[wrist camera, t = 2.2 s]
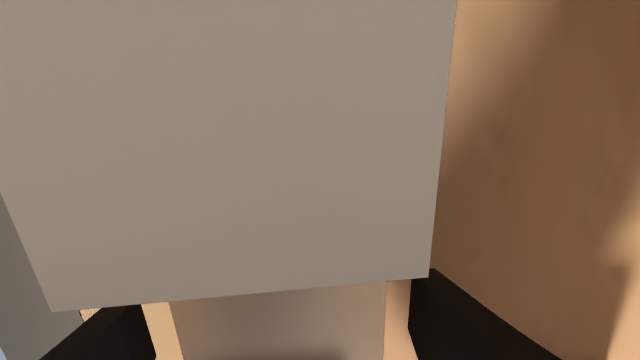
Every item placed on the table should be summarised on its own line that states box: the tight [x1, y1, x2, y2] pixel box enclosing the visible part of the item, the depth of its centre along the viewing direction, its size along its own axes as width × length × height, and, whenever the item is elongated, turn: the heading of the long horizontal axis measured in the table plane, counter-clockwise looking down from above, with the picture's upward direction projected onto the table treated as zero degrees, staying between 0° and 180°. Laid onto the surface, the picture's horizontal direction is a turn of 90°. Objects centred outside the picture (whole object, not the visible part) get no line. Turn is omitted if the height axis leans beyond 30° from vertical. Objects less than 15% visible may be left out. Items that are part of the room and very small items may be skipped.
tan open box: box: [169, 281, 387, 360], centre depth 10 cm, size 5×19×6 cm, turn 2°
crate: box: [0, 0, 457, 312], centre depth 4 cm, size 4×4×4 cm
